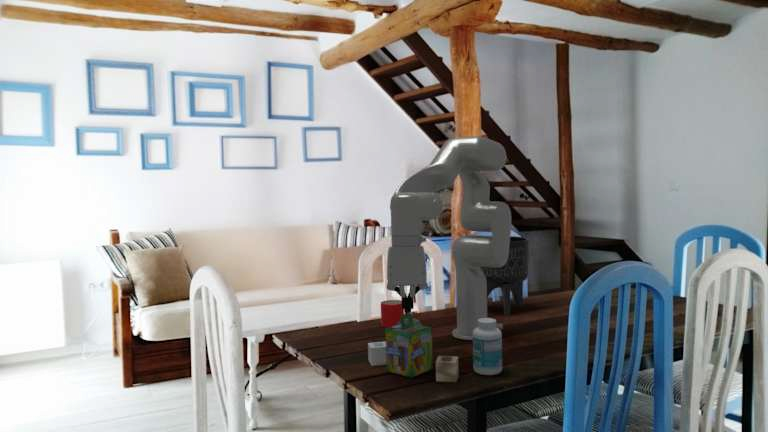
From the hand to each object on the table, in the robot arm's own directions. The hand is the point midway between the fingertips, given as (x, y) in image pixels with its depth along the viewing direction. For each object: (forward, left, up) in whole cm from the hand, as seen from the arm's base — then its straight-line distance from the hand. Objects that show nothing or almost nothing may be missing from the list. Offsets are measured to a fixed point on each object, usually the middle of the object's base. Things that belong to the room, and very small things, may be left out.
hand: (407, 311), depth 156 cm
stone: (-1, -20, -16) cm, 26 cm away
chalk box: (0, 0, -16) cm, 16 cm away
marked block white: (+8, -8, -16) cm, 20 cm away
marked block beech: (-9, +7, -16) cm, 20 cm away
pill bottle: (-20, +3, -16) cm, 26 cm away
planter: (-39, -63, -16) cm, 76 cm away
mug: (+1, -49, -16) cm, 52 cm away
